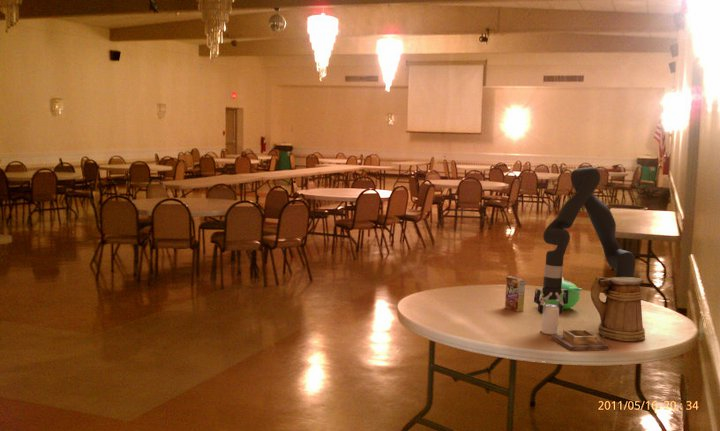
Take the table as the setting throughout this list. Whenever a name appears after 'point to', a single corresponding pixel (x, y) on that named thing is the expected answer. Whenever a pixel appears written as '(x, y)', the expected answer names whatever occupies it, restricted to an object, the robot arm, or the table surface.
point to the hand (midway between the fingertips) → (549, 313)
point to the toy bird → (572, 294)
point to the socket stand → (579, 340)
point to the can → (550, 319)
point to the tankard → (619, 308)
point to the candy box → (515, 293)
